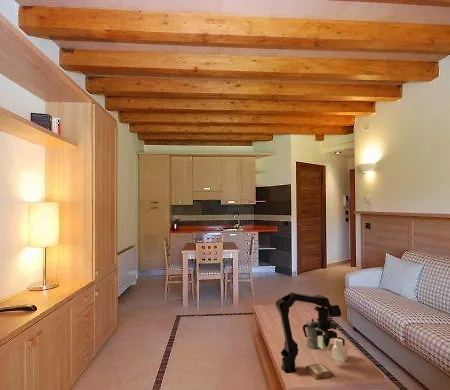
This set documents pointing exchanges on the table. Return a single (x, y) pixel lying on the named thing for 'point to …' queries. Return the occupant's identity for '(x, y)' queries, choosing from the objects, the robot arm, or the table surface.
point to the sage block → (322, 343)
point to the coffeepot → (311, 335)
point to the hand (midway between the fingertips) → (323, 344)
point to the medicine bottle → (339, 350)
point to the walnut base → (318, 371)
